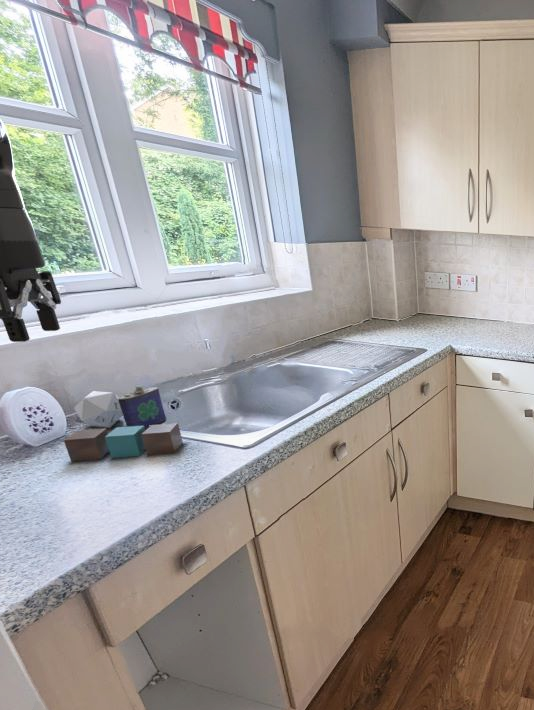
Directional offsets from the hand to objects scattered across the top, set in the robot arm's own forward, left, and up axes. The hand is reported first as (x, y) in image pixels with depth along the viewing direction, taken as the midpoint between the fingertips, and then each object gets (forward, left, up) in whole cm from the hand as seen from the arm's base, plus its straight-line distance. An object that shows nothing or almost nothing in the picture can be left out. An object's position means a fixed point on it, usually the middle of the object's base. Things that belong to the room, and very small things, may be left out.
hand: (36, 335), depth 79 cm
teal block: (+4, +10, -28) cm, 30 cm away
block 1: (-3, +10, -28) cm, 30 cm away
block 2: (+10, +10, -28) cm, 31 cm away
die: (-8, +28, -28) cm, 41 cm away
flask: (+2, +24, -28) cm, 37 cm away
